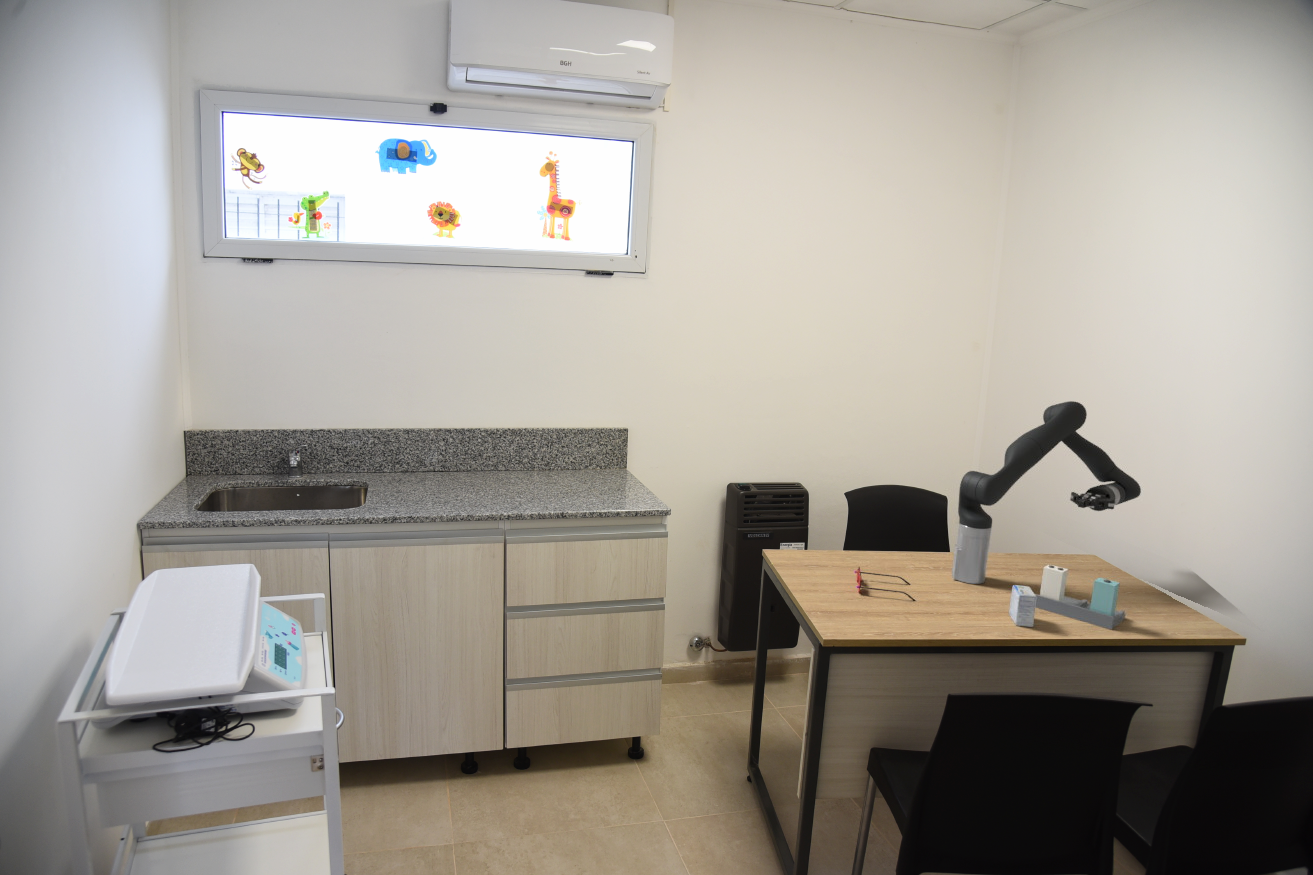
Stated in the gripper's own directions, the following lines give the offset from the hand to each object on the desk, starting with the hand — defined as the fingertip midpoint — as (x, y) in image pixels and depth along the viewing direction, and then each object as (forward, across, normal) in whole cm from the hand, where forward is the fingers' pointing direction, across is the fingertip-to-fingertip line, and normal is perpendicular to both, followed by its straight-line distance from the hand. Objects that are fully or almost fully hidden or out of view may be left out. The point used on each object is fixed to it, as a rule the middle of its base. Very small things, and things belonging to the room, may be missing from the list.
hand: (1081, 504), depth 234 cm
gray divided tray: (+17, +9, +27) cm, 33 cm away
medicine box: (+37, +2, +27) cm, 46 cm away
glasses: (+47, -33, +28) cm, 64 cm away
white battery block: (+20, +3, +25) cm, 32 cm away
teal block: (+20, +16, +25) cm, 36 cm away
